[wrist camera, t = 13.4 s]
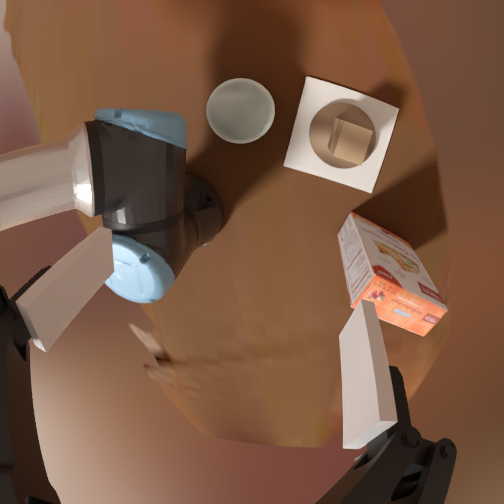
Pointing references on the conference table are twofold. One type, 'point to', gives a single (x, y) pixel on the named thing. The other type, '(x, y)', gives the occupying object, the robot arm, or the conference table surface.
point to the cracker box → (388, 276)
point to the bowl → (240, 110)
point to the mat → (300, 146)
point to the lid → (342, 135)
